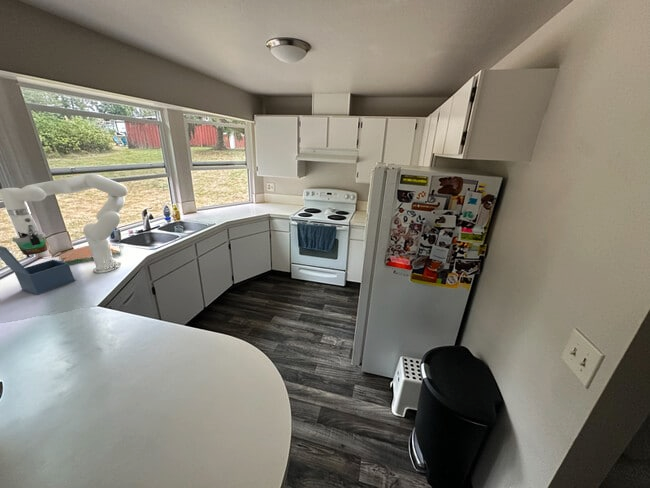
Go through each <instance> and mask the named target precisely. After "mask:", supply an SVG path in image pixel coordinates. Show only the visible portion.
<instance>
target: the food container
mask: <svg viewBox="0 0 650 488" xmlns="http://www.w3.org/2000/svg"><path fill="white" fill-rule="evenodd" d="M31 236H32V234H31ZM46 237H47V234H46V233H45V232H42V233H40V234H38V238H39V240H40V243H41V244H38V245H32V243H31V241H30V237H29V236H25V237H22V236H20V237H12V242H13V243H15V244H16V245H17V246H18V248H19V250H20V252H21V253H22V254H23V255H24V256H32V255H33V256H34V255H38V254H42V253H44V252H47V251H48V245H47V240H46Z"/></svg>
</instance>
